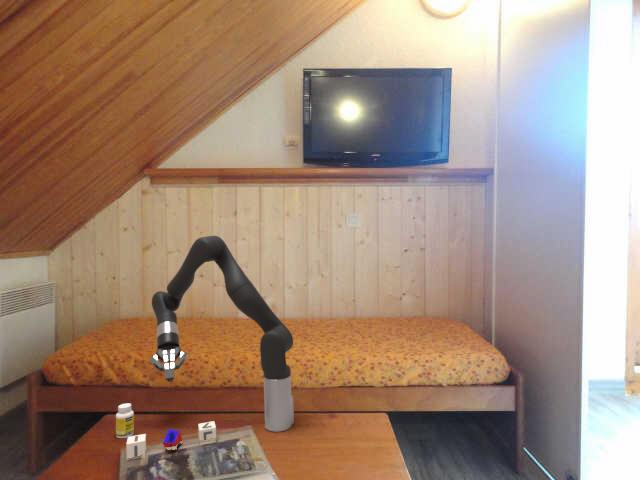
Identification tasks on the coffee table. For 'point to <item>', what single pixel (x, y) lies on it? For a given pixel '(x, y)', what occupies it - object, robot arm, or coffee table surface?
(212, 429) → the cream block marked 7
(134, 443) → the cream block marked 1
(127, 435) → the supplement bottle
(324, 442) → the coffee table surface
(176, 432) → the toy car
